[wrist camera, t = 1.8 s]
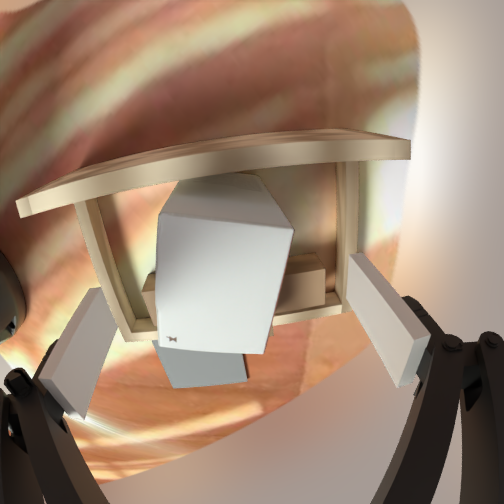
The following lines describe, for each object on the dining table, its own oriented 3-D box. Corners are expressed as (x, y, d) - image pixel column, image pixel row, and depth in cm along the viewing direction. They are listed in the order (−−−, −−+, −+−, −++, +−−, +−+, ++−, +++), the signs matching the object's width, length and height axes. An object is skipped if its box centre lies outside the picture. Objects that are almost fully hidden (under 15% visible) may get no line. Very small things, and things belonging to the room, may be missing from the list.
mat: (173, 386, 35) (173, 388, 35) (149, 332, 31) (149, 334, 31) (247, 379, 36) (247, 381, 36) (236, 322, 31) (236, 325, 31)
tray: (130, 327, 30) (108, 396, 22) (78, 168, 22) (15, 200, 13) (343, 298, 32) (380, 361, 23) (346, 128, 23) (410, 140, 14)
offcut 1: (159, 304, 30) (154, 326, 27) (148, 272, 28) (141, 292, 25) (223, 296, 30) (224, 317, 27) (216, 262, 28) (216, 281, 25)
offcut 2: (249, 295, 30) (253, 316, 27) (244, 262, 29) (247, 281, 25) (315, 285, 31) (324, 304, 27) (314, 251, 29) (325, 268, 26)
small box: (246, 257, 28) (265, 357, 16) (179, 250, 27) (155, 349, 15) (260, 173, 25) (297, 228, 13) (186, 164, 24) (154, 212, 12)
